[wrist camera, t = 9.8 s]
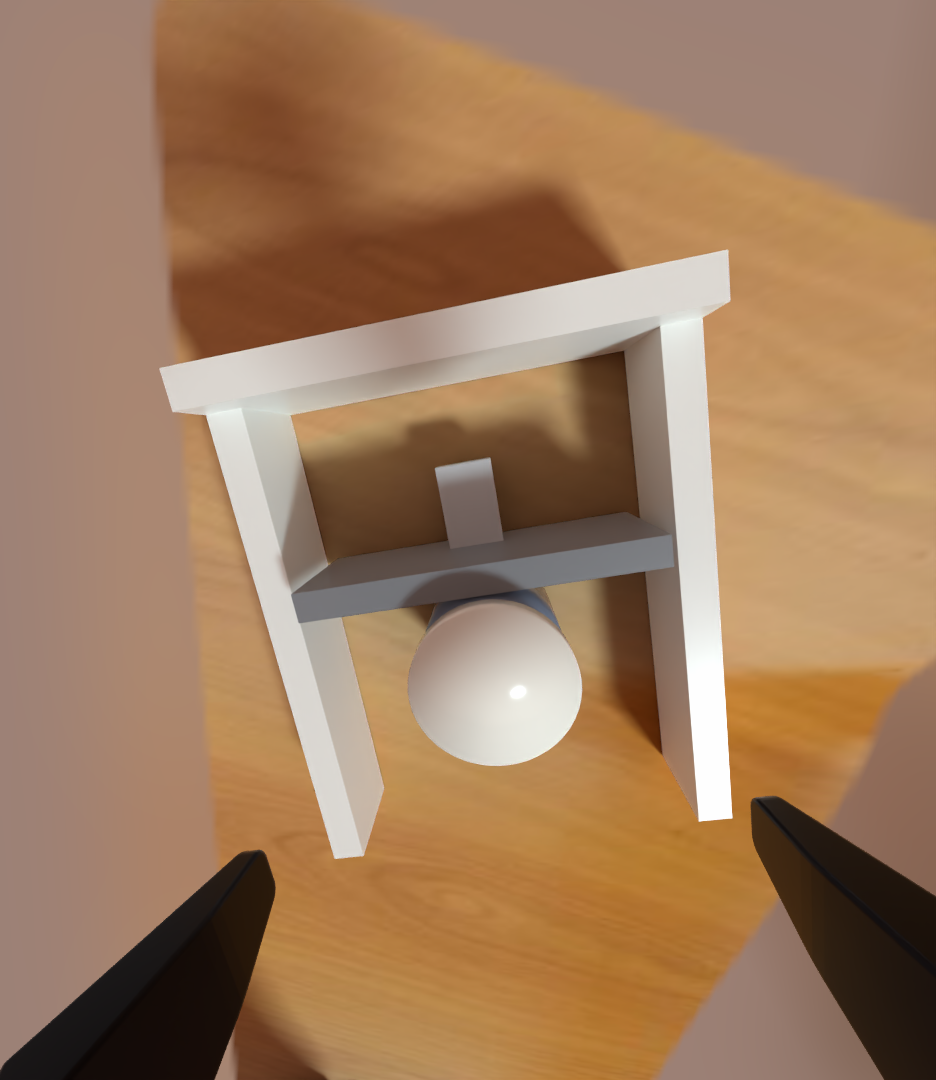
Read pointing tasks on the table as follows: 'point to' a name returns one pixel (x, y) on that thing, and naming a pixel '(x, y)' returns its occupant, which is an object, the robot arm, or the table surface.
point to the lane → (452, 357)
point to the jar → (495, 678)
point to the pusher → (482, 555)
